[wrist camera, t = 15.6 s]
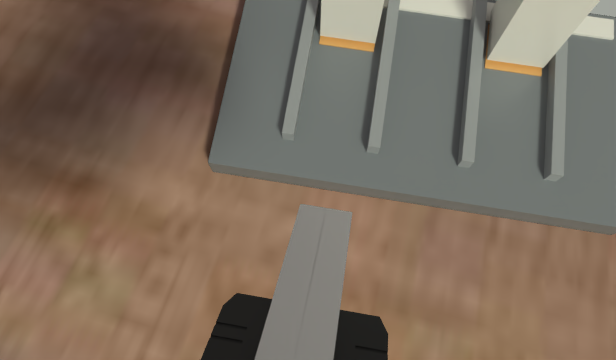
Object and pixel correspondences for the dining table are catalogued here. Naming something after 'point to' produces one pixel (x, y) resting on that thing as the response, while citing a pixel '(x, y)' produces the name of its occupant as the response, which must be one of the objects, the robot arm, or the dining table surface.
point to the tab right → (533, 29)
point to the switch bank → (424, 113)
